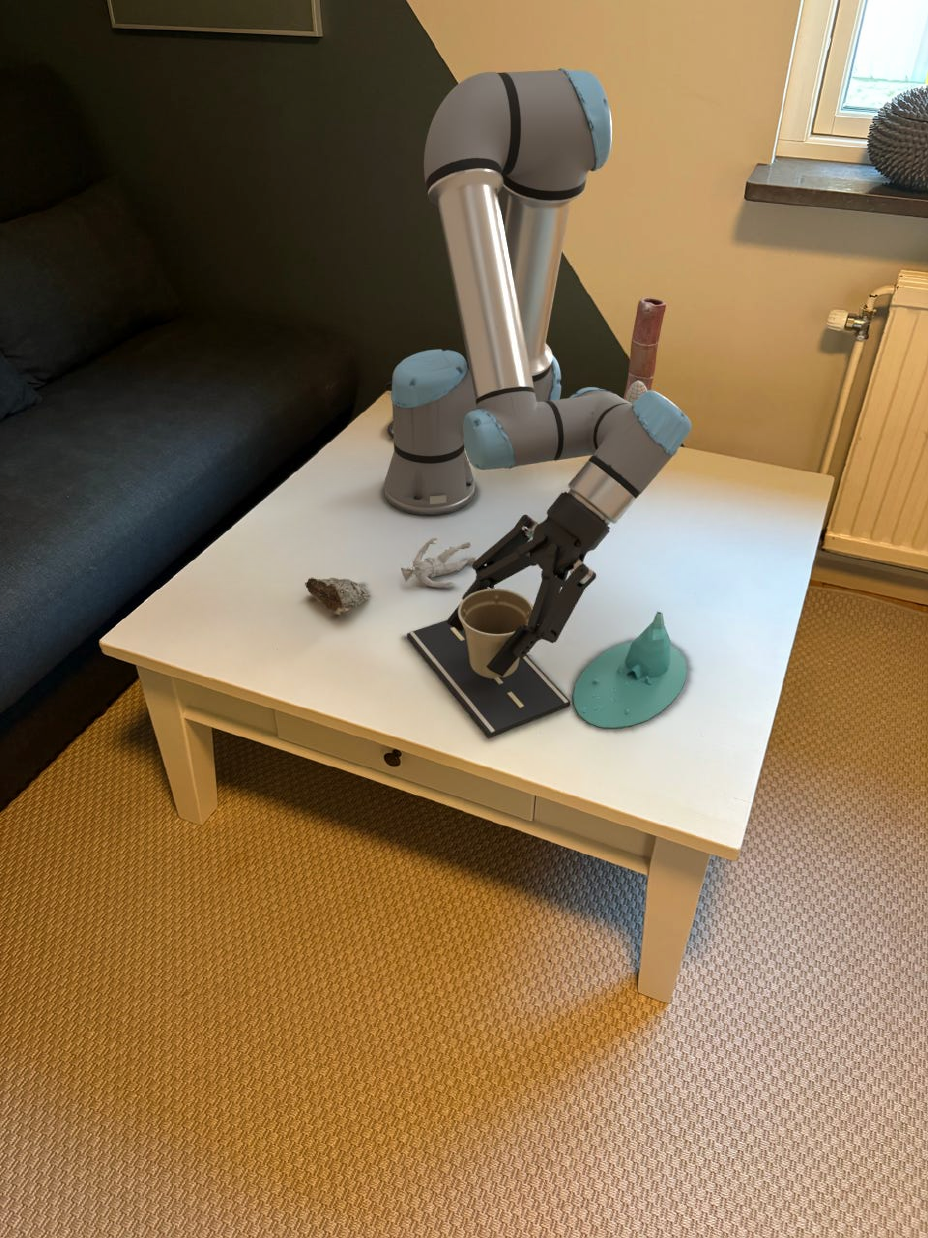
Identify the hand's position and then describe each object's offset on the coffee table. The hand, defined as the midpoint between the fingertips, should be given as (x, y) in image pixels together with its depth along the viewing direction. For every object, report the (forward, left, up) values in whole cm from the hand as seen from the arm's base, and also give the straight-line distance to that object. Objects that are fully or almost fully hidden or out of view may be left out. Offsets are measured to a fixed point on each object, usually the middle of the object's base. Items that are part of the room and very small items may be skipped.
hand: (473, 648), depth 119 cm
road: (-2, +3, -7) cm, 7 cm away
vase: (-37, +53, -7) cm, 65 cm away
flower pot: (0, +3, -4) cm, 5 cm away
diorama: (+9, +19, -7) cm, 22 cm away
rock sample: (-25, -8, -7) cm, 27 cm away
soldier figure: (-24, +8, -7) cm, 26 cm away
